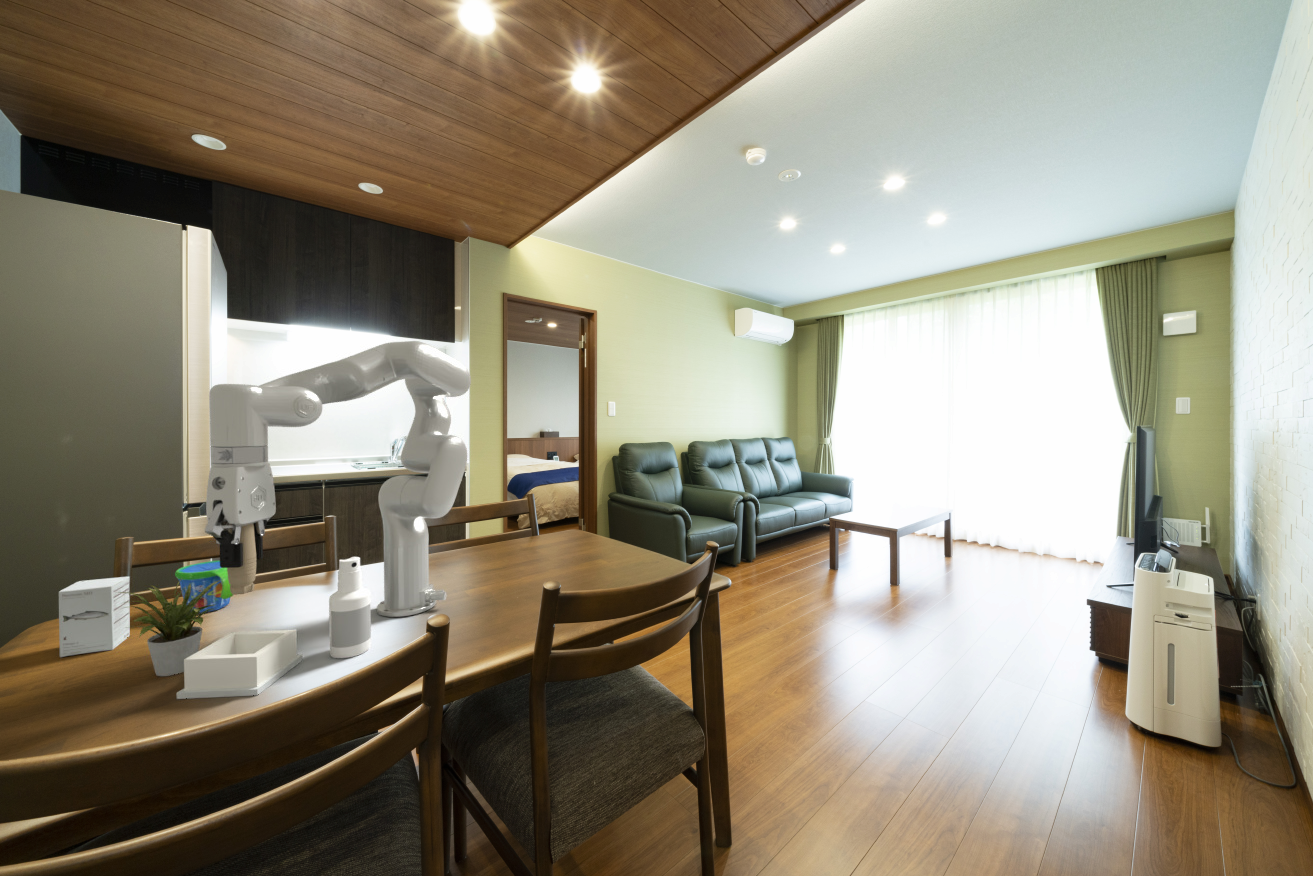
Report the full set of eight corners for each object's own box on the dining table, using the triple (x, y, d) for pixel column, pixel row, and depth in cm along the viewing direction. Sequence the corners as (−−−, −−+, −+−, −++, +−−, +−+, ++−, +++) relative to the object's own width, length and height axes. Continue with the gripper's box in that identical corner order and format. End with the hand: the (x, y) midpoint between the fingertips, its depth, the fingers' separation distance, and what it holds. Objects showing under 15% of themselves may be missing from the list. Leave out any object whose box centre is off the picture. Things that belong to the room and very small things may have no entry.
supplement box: (57, 658, 91) (55, 591, 91) (80, 642, 98) (78, 580, 97) (113, 650, 95) (111, 585, 94) (132, 635, 101) (130, 574, 101)
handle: (268, 585, 88) (266, 502, 88) (249, 597, 82) (247, 508, 82) (235, 587, 87) (234, 503, 86) (214, 600, 81) (212, 509, 80)
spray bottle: (340, 662, 91) (339, 566, 90) (322, 653, 94) (321, 560, 94) (378, 648, 96) (377, 557, 96) (359, 639, 100) (358, 552, 99)
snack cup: (163, 610, 114) (162, 567, 114) (219, 595, 124) (218, 556, 123) (194, 623, 107) (193, 577, 107) (251, 606, 117) (251, 564, 116)
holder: (302, 659, 92) (302, 627, 91) (257, 695, 80) (256, 659, 80) (233, 662, 90) (232, 630, 90) (176, 698, 78) (175, 662, 78)
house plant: (83, 701, 78) (80, 599, 77) (134, 661, 90) (131, 573, 90) (199, 682, 83) (197, 587, 83) (231, 647, 96) (230, 565, 95)
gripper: (226, 460, 76) (228, 578, 76) (294, 453, 92) (296, 549, 93) (173, 460, 75) (175, 579, 76) (251, 453, 92) (253, 550, 92)
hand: (242, 561), depth 84 cm, fingers closed on handle, 4 cm apart
